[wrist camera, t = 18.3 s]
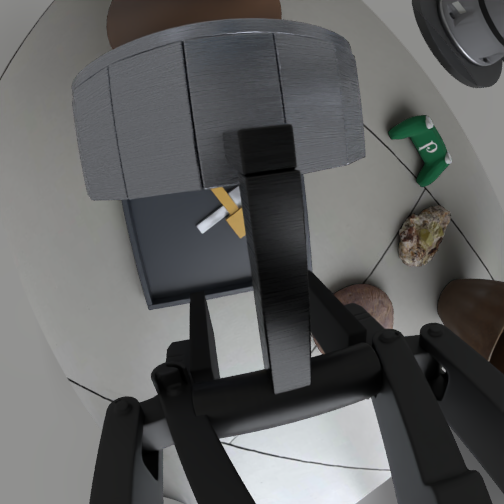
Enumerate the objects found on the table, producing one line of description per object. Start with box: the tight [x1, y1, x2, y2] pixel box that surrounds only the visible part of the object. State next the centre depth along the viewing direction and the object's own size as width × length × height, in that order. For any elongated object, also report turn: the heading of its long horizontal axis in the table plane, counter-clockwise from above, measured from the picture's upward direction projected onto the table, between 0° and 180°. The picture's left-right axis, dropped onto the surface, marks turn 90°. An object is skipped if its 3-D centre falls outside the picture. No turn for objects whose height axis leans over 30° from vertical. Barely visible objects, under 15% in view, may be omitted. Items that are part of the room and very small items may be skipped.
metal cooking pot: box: [72, 18, 383, 439], centre depth 15 cm, size 18×14×13 cm
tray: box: [122, 174, 312, 310], centre depth 33 cm, size 17×19×2 cm
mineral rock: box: [398, 205, 451, 267], centre depth 39 cm, size 11×4×8 cm
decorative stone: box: [313, 284, 394, 354], centre depth 39 cm, size 12×12×6 cm
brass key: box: [211, 187, 246, 239], centre depth 33 cm, size 7×3×1 cm, turn 37°
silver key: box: [196, 185, 242, 234], centre depth 34 cm, size 7×3×1 cm, turn 126°
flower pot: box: [438, 279, 504, 374], centre depth 38 cm, size 15×15×16 cm
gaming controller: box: [388, 115, 452, 187], centre depth 35 cm, size 9×4×6 cm
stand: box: [106, 0, 282, 49], centre depth 24 cm, size 14×14×10 cm
